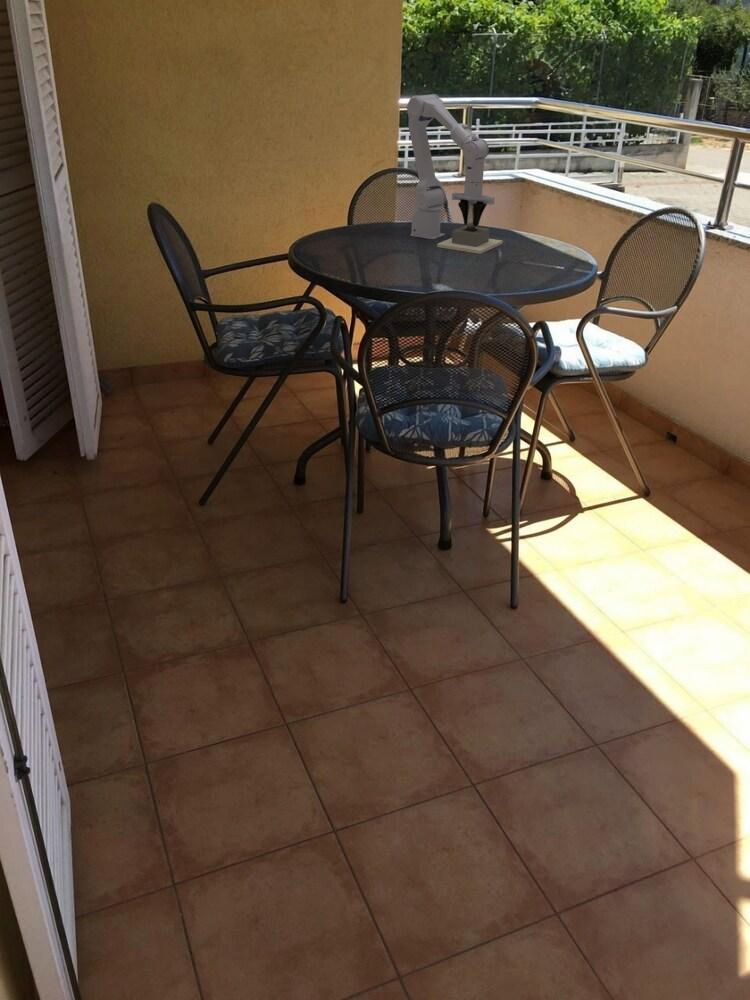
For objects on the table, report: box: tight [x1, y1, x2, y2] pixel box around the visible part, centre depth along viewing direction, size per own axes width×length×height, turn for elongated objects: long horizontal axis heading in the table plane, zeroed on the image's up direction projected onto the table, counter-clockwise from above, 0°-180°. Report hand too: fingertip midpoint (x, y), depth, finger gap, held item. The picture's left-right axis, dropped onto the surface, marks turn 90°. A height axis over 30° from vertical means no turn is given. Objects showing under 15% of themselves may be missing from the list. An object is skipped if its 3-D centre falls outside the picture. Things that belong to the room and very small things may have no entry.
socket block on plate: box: [436, 225, 504, 255], centre depth 274 cm, size 16×16×5 cm
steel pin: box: [466, 202, 477, 232], centre depth 271 cm, size 3×3×10 cm
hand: (471, 224), depth 272 cm, fingers closed on steel pin, 3 cm apart
